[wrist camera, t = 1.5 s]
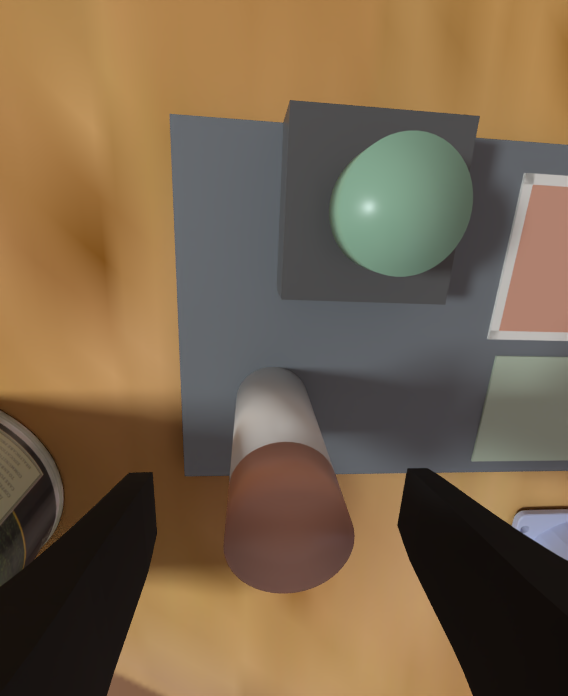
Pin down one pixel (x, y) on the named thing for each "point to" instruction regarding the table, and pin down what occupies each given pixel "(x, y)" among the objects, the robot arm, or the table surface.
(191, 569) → the table surface
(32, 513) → the coffee can
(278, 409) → the marker
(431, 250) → the button
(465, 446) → the activity board
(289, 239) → the button housing
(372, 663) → the table surface
